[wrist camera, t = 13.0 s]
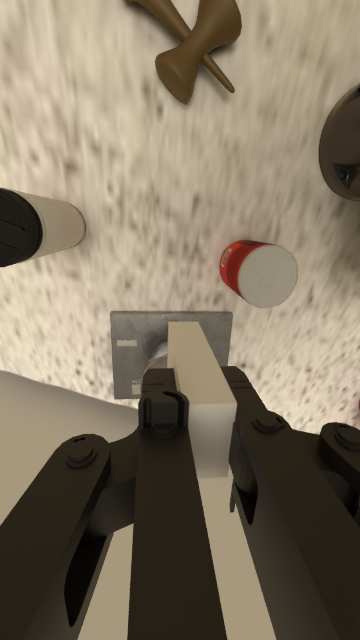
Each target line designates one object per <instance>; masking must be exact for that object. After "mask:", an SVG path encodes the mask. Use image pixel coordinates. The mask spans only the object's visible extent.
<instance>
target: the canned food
mask: <svg viewBox="0 0 360 640" xmlns="http://www.w3.org/2000/svg"><path fill="white" fill-rule="evenodd" d="M220 274H221V277H222V279H223V281H224V282H225V283H226V285H228V286H229V287H230V288H231V289H232V290H233V291H235V292H236V293H237V294H238V295H239V296H241V297H242V298H243V299H244V300H245V301H247V302H248V303H249V304H251V305H253V306H256V307H259V308H271V307H274V306H277V305H279V304H281V303H282V302H284V301H285V300H286V299H287V298H288V297H289V296H290V294H291V293H292V291H293V290H294V288H295V285H296V283H297V278H298V268H297V263H296V261H295V258H294V257H293V255H292V254H291V253H290V252H289V251H288V250H286V249H285V248H283V247H281V246H277V245H273V244H268V243H262V242H256V241H250V240H241V241H238V242H235V243H233V244H232V245H230V246H229V247H228V248H227V249H226V251H225V252H224V254H223V256H222V258H221V261H220Z"/></svg>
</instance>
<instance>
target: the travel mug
mask: <svg viewBox="0 0 360 640" xmlns="http://www.w3.org/2000/svg"><path fill="white" fill-rule="evenodd" d="M85 231H86V225H85V220H84V218H83V216H82V214H81V213H80V212H79V210H78V209H77V208H75V207H74V206H73V205H71V204H69V203H65V202H61V201H57V200H53V199H49V198H44V197H40V196H36V195H32V194H28V193H23V192H19V191H15V190H11V189H6V188H0V267H6V266H9V265H13V264H16V263H21V262H25V261H28V260H31V259H35V258H38V257H41V256H44V255H48V254H51V253H54V252H57V251H61V250H64V249H67V248H70V247H73V246H76V245H77V244H79V243H80V242H81V241H82V239H83V238H84V235H85Z"/></svg>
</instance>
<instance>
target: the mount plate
mask: <svg viewBox="0 0 360 640" xmlns="http://www.w3.org/2000/svg"><path fill="white" fill-rule="evenodd" d="M232 318H233V314H232V313H231V312H129V311H111V314H110V321H111V341H112V361H113V380H114V399H140V398H141V394H135V395H133V393H132V380H141V375H142V371H143V368H144V366H145V364H146V363H147V362H148V360H149V359H150V358H151V357H152V356H154V355H155V354H157V353H159V352H161V351H163V350H167V349H168V322H199V325H200V327H201V329H202V331H203V333H204V335H205V337H206V339H207V341H208V343H209V345H210V348H211V350H212V352H213V354H214V356H215V358H216V360H217V362H218V364H219V366H227V364H228V354H229V345H230V336H231V327H232Z"/></svg>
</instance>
